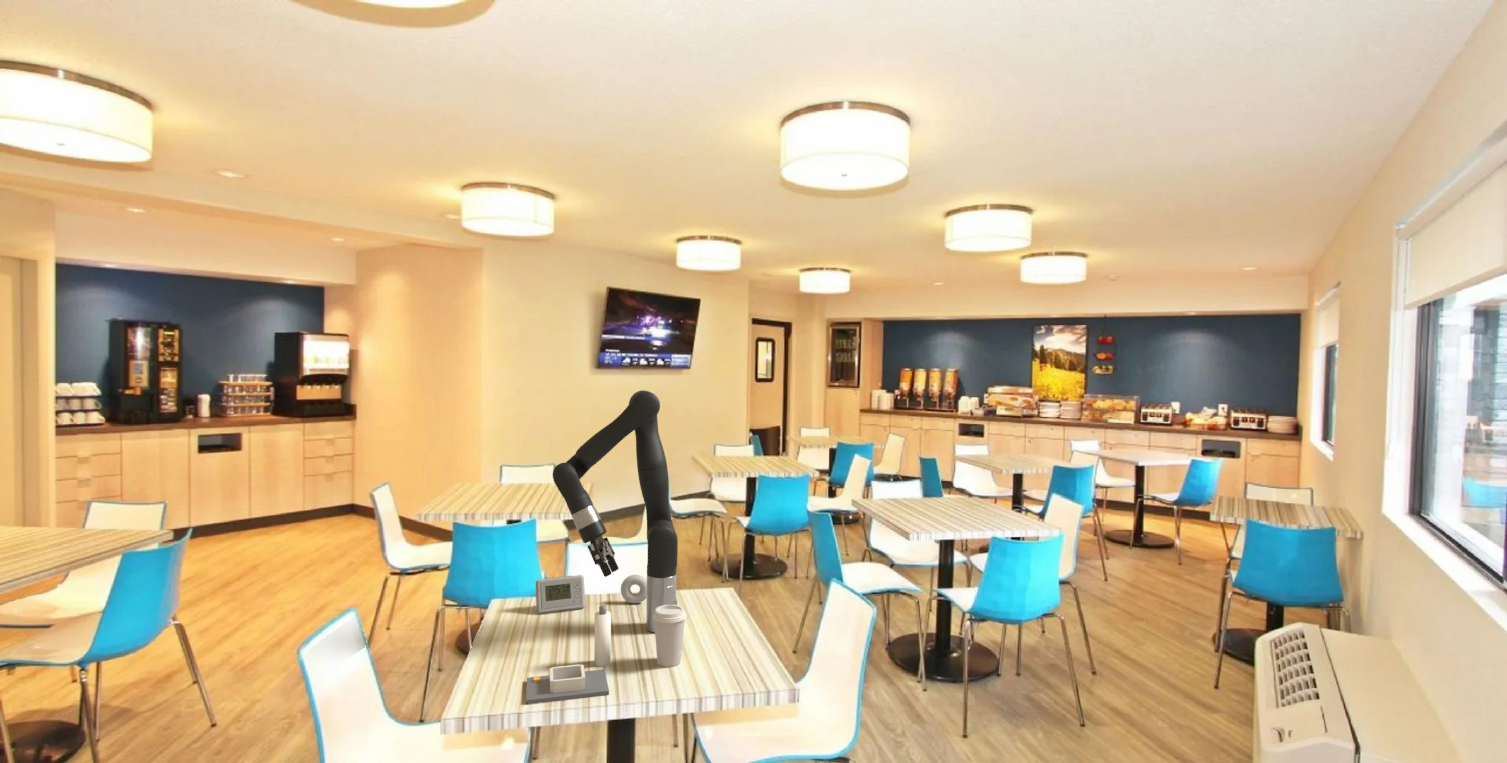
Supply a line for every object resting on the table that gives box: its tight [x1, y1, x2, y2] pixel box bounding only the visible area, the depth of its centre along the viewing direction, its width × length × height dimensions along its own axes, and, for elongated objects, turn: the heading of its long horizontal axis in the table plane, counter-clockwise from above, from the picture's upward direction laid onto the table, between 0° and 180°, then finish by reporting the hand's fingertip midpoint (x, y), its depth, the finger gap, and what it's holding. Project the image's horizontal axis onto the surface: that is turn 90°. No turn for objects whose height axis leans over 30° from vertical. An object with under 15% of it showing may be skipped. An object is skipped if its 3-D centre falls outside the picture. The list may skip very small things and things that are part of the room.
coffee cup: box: [652, 604, 687, 668], centre depth 203 cm, size 10×10×15 cm
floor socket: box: [525, 664, 610, 704], centre depth 186 cm, size 20×13×4 cm, turn 107°
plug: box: [593, 604, 612, 668], centre depth 201 cm, size 4×4×16 cm
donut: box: [620, 574, 647, 605], centre depth 251 cm, size 10×4×10 cm, turn 94°
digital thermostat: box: [535, 574, 586, 615], centre depth 244 cm, size 16×9×11 cm, turn 103°
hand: (612, 573), depth 216 cm, fingers open, 8 cm apart
